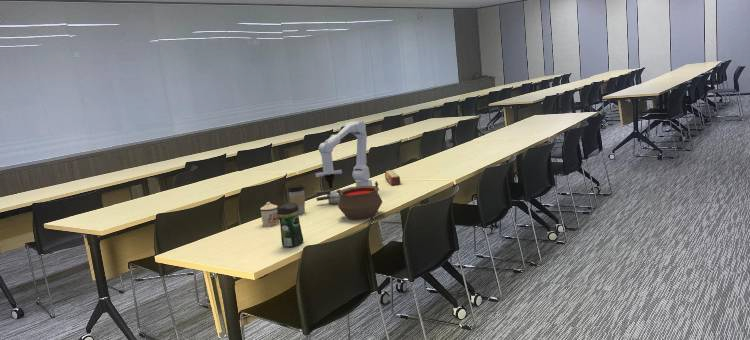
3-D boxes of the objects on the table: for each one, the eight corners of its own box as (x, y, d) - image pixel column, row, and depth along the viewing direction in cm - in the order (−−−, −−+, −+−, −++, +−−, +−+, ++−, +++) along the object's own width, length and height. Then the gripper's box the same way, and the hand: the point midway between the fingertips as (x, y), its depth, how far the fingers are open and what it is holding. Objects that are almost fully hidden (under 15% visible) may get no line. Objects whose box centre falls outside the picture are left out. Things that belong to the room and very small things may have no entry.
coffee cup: (310, 210, 316) (307, 184, 313) (303, 215, 307) (299, 188, 305) (295, 211, 319) (291, 185, 317) (287, 215, 310) (283, 188, 308)
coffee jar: (292, 240, 261) (286, 201, 258) (306, 241, 257) (300, 201, 254) (279, 247, 253) (273, 206, 249) (293, 248, 249) (287, 207, 246)
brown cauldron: (350, 225, 276) (346, 192, 273) (330, 217, 297) (326, 186, 294) (393, 215, 286) (390, 183, 283) (371, 207, 307) (368, 177, 304)
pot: (352, 197, 338) (351, 190, 337) (356, 201, 325) (356, 194, 325) (316, 203, 334) (315, 195, 333) (319, 207, 321) (318, 200, 320)
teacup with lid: (269, 227, 289) (266, 205, 287) (259, 225, 296) (255, 203, 294) (288, 221, 298) (285, 199, 296) (277, 219, 304) (274, 198, 302)
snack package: (401, 185, 359) (400, 174, 358) (390, 186, 358) (389, 176, 357) (395, 179, 380) (394, 169, 378) (385, 180, 379) (384, 170, 378)
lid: (348, 190, 337) (348, 184, 336) (352, 194, 324) (351, 188, 323) (315, 195, 334) (314, 189, 333) (317, 199, 320) (316, 193, 320)
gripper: (339, 161, 326) (342, 184, 328) (313, 164, 323) (317, 188, 325) (341, 162, 319) (344, 186, 321) (315, 166, 316) (318, 190, 318)
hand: (330, 187), depth 323 cm, fingers closed
